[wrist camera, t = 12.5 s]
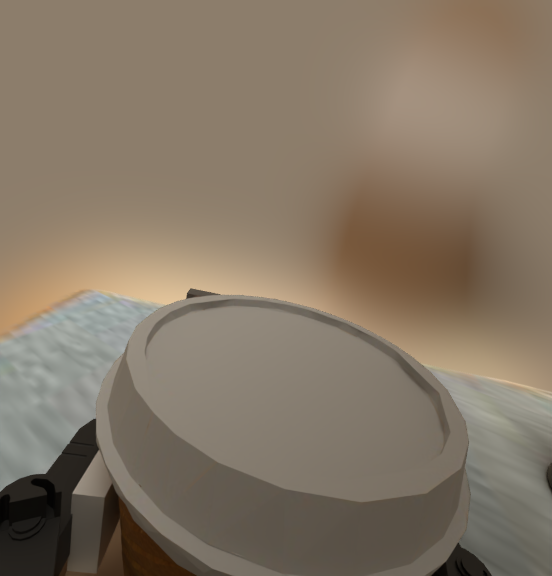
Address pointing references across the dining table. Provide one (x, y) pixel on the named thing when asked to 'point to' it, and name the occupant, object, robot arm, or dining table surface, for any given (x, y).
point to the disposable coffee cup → (278, 446)
